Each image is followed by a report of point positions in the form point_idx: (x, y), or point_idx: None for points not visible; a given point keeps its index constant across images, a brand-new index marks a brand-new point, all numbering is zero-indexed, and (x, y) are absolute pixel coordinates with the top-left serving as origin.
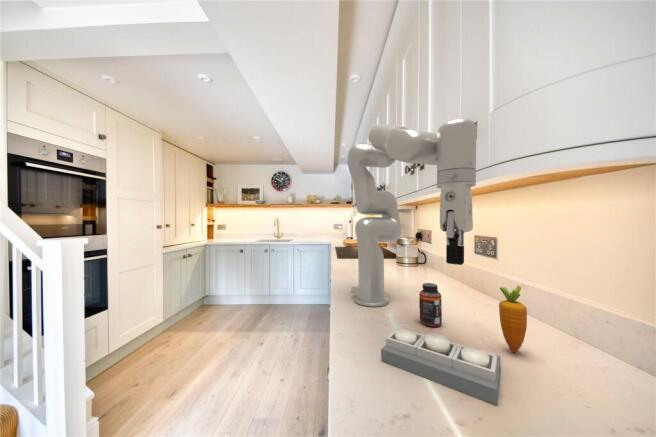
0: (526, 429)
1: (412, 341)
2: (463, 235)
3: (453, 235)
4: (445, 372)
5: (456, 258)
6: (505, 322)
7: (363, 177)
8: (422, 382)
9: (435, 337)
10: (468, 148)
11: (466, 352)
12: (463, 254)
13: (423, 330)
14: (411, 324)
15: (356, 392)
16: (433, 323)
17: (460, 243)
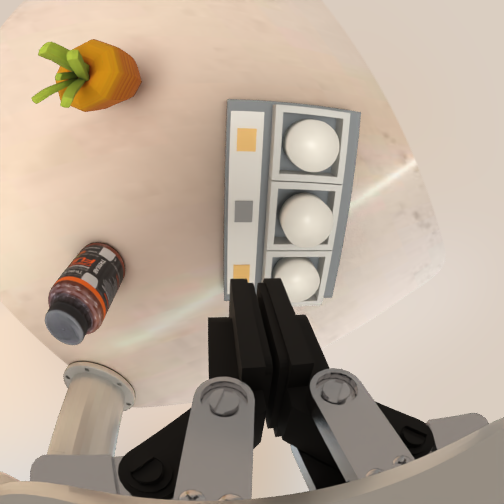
0: (375, 84)
1: (310, 263)
2: (219, 468)
3: (473, 428)
4: (351, 188)
5: (305, 325)
6: (127, 91)
7: None
8: (350, 214)
9: (305, 228)
10: None
11: (318, 161)
12: (253, 315)
13: (150, 266)
14: (139, 295)
15: (402, 276)
16: (117, 258)
17: (363, 387)
